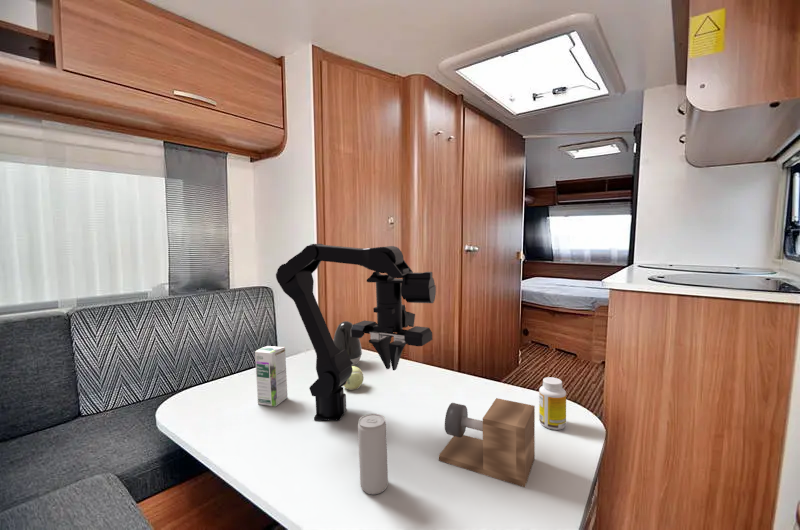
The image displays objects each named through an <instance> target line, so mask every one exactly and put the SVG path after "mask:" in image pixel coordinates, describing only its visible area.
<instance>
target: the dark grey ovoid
mask: <svg viewBox="0 0 800 530" xmlns="http://www.w3.org/2000/svg"><path fill="white" fill-rule="evenodd" d="M353 324H354V323H352V322H350V321H349V320H348V321H347V320H346V321H345V320H343V321H342V322H340V323H339V324H338V325H337V327H336V330H335V332H334V336H333V338H332V339H333V342H334V344H335V346H336V347H337V348H338V349H339V350H341V351H343V350H345V349H346V350H347V352H348V355H349V358H350V360H351V361H352V362H353V364H352V365H351V366H355V367H356V365H358V363H359V362H360V360H361V357H362V355H363V350H362V344H361V340H360V338H355V337H351V328H352V326H353Z"/></svg>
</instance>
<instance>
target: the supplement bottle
mask: <svg viewBox="0 0 800 530" xmlns="http://www.w3.org/2000/svg"><path fill="white" fill-rule="evenodd" d="M538 394H539V395H538V397H539V398H538V399H539V401H538V402H539V404H538V405H539V406H538V407H539V408H538V410H539V412H538V413H539V414H538V415H539V420H538V421H539V423H540V424H541V426H543V427H544V428H546V429H549V430H551V431H560V430H564V429H565V428H566V425H567V391H566V390H565V388H564V387H563V381H562V380H561V379H559V378H557V377H552V376H551V377H550V376H547V377H543V379H542V385H541V386H540V387H539V389H538Z"/></svg>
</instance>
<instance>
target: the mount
mask: <svg viewBox="0 0 800 530" xmlns="http://www.w3.org/2000/svg"><path fill="white" fill-rule="evenodd" d="M535 408H536V407H535V405H533V404H527V403H523V402H516V401H512V400H507V399H502V398H499V397H498V398H497V397H496V398H495V400H494V401H493V402H492V403H491V405H490V407H488V410H487V412H486V413H485V414H484V415H483V417H482V421H483V431H482V439H481V438H476V437H473V436H469V435H465V434H464V435H463V436H462V437H461V438H459V437H456V436H452V437H451V439H449V441H448V442H447V444H446V445H445V446H444V448H443V449H442V450H441V452H440V453H439V454H438V462H442V463H444V464H445V463H446V464H450V465H451V466H455V467H459V468H461V469H464V470H468V471H471V472H475V473H477V474H481V475H484V476H487V477H490V478H494V479H497V480H500V481H504V482H505V483H510V484H512V485H516V486H520V487H522V488H526V487H527V486H526V485H527V483H528V480H529V476H530V474H531V471H532V469H533V468H532V467H533V464H534V461H535V457H536V456H535V455H536V453H535V452H536V451H535V450H536V448H535V447H536V446H535V445H536V443H535V441H536V439H535V438H536V437H535V435H536V434H535V432H536V431H535V428H536V427H535V424H536V423H535V415H536V414H535V413H536V412H535Z"/></svg>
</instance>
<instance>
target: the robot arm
mask: <svg viewBox="0 0 800 530" xmlns="http://www.w3.org/2000/svg"><path fill="white" fill-rule="evenodd" d="M321 262H329V263H339V264H346V265H357V266H360V267H363V268H365V269H367V270H370V271H373V272H372V273H371V275H370V276H369V277H368V278H367V279H366V282H367V283H375V294H376V295H375V296H376V298H375V299H376V306H375V307H373V308H372V309H373V313H376V321H377V322H376V321H373V320H362V321H359V322H356V323H352V324H353V326H352V328H351V337H355V338H359V339H362V338H363V337H364V336H365V334H368V335H369V334H370V339H369V340H368V343H369V344H371V345H372V346H373V348H374V349H375V351H376V352H377V354H378V356H379V357H380V360H381V362H382V363H383V365H384V367H385V369H386V370H390V369H392V371H396V370H397V369H398V365H399V362H400V359H401V356H402V353H403V351H404V348H405V346H406V345H407V346H412V347H422V346H425V345H426V344H427V343H430V342H431V341H433V332H432V330H431V328H430V327H428V326H427V327H426V326H419V325H417V326H416V325H415V319H416V314H415V313H413V312H410V311H407V310H406V309H407V308H406V305H405V304H403V300H405V301H406V303H409V304H411V303H414V304H434V302H435V300H436V296H437V295H436V293H437V291H436V290H437V286H436V284H435V279H434V278H433V272H432V271H424V272H414V271H413V269H411V268H410V265H409V264H408V263H407V262H406V261H405V260H404V255H403V252H402V251H401V249H400V248H399V247H398V246H394V245H389V246H388V245H387V246H380V247H379V246H377V247H368V248H361V247H360V248H359V247H349V246H342V245H341V246H339V245H337V246H336V245H328V244H322V243H310V244H308V245H306V246H305V247H304V248H303V249H302V250H301V251H300V252H299V253H297V254H295V255H294V256H293V257H292V258H290V259H288V260H287V261H286V263H283V264H281V265H279V266H278V268H277V271H276V273H275V278H276V281H277V284H278V285H279V286H280V288H281V290H282V291H283V292H284V294H286V295H287V297H289V298H290V299H292V301H293V302H294V304H295V307H296V310H297V311H298V314H299V316H300V318H301V321H302V324H303V326H304V327H305V331H306V333H307V335H308V337H309V339H310V343H311V345H312V347H313V349H314V352H315V354H316V355H315V356H316V363H315V371H316V373H317V379H316V380H315V381H314V382H313V383H312V384H311V385H310V386H309V389H308V390H309V391H310V394H311V396H312V397H315V415H314V417H313V420H314V421H340V420H342V417H343V416H344V415H345V413H346V411H347V395H346V393H344V386H343V385H345V384H346V381H347V379H349V377H350V376H351V374H352V366H351V365H352V364H353V362H352V361H351V360H350V358H349V355H348V352H347V350H346V349H345V350H343V351H341V350H339V349H338V348H337V347H336V346H335V344H334V342H333V339H334V338H333V337H332V335H331V333H330V330H329V327H328V325H327V323H326V321H325V318H324V316H323V313H322V311H321V309H320V306H319V304H318V301H317V299H316V297H315V295H314V281H315V280H314V278H313V273H315V271H316V270H317V269H318V268H319V266H320V264H321ZM414 325H415V326H414ZM408 326H409V327H410V329H405V328H408ZM392 338H393V341H392ZM391 341H392V342H391Z"/></svg>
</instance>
